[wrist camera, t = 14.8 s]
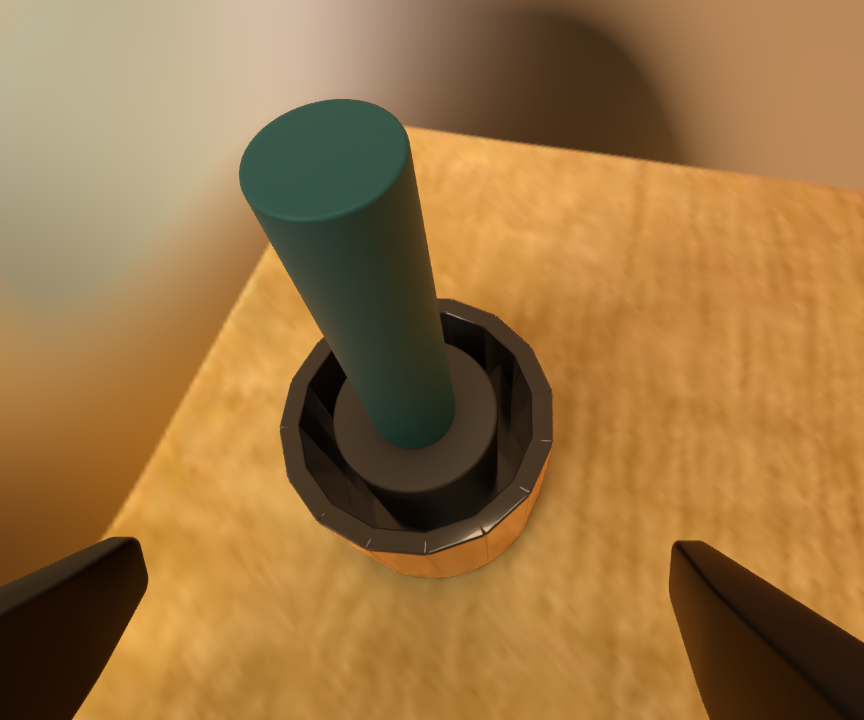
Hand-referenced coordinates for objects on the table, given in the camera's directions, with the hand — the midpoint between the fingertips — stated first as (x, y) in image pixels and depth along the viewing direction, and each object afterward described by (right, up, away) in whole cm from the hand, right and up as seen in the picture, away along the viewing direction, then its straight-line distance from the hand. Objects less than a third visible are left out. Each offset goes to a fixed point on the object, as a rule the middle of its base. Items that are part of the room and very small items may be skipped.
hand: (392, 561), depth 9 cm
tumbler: (+1, 0, +8) cm, 8 cm away
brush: (+1, 0, +8) cm, 8 cm away
